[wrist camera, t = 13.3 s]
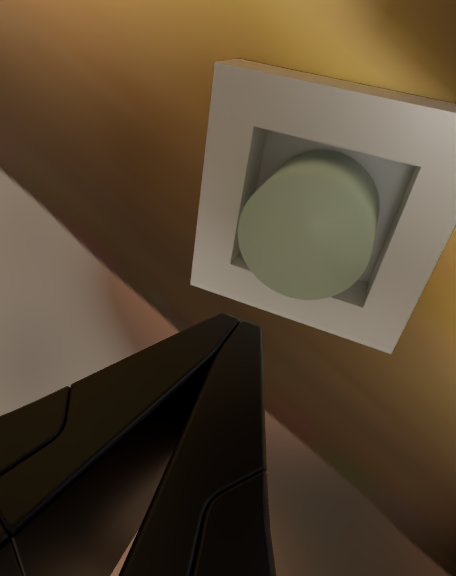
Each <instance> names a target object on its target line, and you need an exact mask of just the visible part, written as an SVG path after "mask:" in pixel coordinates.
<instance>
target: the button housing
mask: <svg viewBox="0 0 456 576" xmlns="http://www.w3.org/2000/svg"><path fill="white" fill-rule="evenodd" d="M315 150H329V151H335V152H338V153H342V154H344V155H346V156H349V157H351V158H352V159H354V160H355V161H357V162H358V163H359V164H361V165H362V166H363V167H364V168H365V169H366V170H367V172H368V173H369V174H370V176H371V177H372V179H373V181H374V183H375V185H376V187H377V191H378V194H379V200H380V211H379V217H378V222H377V227H376V232H375V237H374V242H373V247H372V252H371V256H370V259H369V262H368V265H367V267H366V269H365V271H364V272H363V274H362V275H361V276H360V278H359V279H358V280H357V281H356V282H355V283H354V284H353V285H352V286H350V287H349V288H348V289H346V290H345V291H343V292H341V293H339V294H337V295H335V296H332V297H329V298H325V299H319V300H300V299H294V298H290V297H287V296H284V295H282V294H279V293H277V292H275V291H273V290H271V289H270V288H268V287H267V286H266V285H264V284H263V283H262V282H261V281H259V280H258V279H257V277H256V276H255V275H254V274H253V273H252V272H251V270H250V269H249V268H248V266H247V264H246V263H245V261H244V259H243V256H242V254H241V251H240V247H239V242H238V224H239V219H240V215H241V213H242V210H243V208H244V206H245V205H246V203H247V201H248V200H249V199H250V197H251V196H252V195H253V194H254V193H255V192H256V191H257V190H258V189H259V188H260V187H261V186H262V185H263V184H264V183H265V182H266V181H267V180H268V179H269V178H270V177H271V176H272V175H273V174H274V173H275V172H276V171H277V170H278V169H279V168H280V167H281V166H282V165H283V164H284V163H286V162H287V161H288V160H290V159H291V158H293V157H295V156H297V155H299V154H302V153H305V152H309V151H315ZM455 226H456V103H451V102H446V101H441V100H436V99H431V98H427V97H422V96H417V95H412V94H407V93H402V92H398V91H393V90H388V89H383V88H378V87H373V86H369V85H364V84H359V83H354V82H349V81H344V80H340V79H335V78H330V77H325V76H320V75H315V74H311V73H306V72H301V71H296V70H291V69H286V68H282V67H277V66H272V65H267V64H262V63H257V62H253V61H248V60H243V59H231V60H225V61H218V62H215V65H214V74H213V83H212V92H211V101H210V111H209V120H208V129H207V138H206V147H205V156H204V165H203V174H202V183H201V192H200V201H199V210H198V219H197V228H196V238H195V247H194V256H193V265H192V274H191V283H190V285H193V286H196V287H199V288H202V289H205V290H207V291H210V292H213V293H216V294H219V295H222V296H225V297H228V298H230V299H233V300H236V301H239V302H242V303H245V304H248V305H251V306H253V307H256V308H259V309H262V310H265V311H268V312H271V313H274V314H277V315H279V316H282V317H285V318H288V319H291V320H294V321H297V322H300V323H302V324H305V325H308V326H311V327H314V328H317V329H320V330H323V331H326V332H328V333H331V334H334V335H337V336H340V337H343V338H346V339H349V340H351V341H354V342H357V343H360V344H363V345H366V346H369V347H372V348H375V349H377V350H380V351H383V352H386V353H389V354H392V352H393V350H394V348H395V346H396V344H397V342H398V340H399V338H400V336H401V334H402V332H403V330H404V328H405V326H406V324H407V322H408V320H409V318H410V316H411V314H412V312H413V310H414V308H415V306H416V304H417V302H418V300H419V298H420V296H421V294H422V292H423V290H424V288H425V286H426V284H427V282H428V280H429V278H430V276H431V274H432V272H433V270H434V268H435V266H436V264H437V262H438V260H439V258H440V256H441V254H442V252H443V250H444V248H445V246H446V244H447V242H448V240H449V238H450V236H451V234H452V232H453V230H454V228H455Z"/></svg>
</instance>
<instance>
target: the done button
mask: <svg viewBox="0 0 456 576" xmlns="http://www.w3.org/2000/svg"><path fill="white" fill-rule="evenodd" d="M379 211H380V200H379V194H378V191H377V187H376V185H375V183H374V181H373V179H372V177H371V176H370V174H369V173H368V172H367V170H366V169H365V168H364V167H363V166H362V165H361V164H359V163H358V162H357V161H355V160H354V159H352V158H351V157H349V156H346V155H344V154H342V153H338V152H335V151H329V150H315V151H309V152H305V153H302V154H299V155H297V156H295V157H293V158H291V159H290V160H288V161H287V162H286V163H284V164H283V165H282V166H281V167H280V168H279V169H278V170H277V171H276V172H275V173H274V174H273V175H272V176H271V177H270V178H269V179H268V180H267V181H266V182H265V183H264V184H263V185H262V186H261V187H260V188H259V189H258V190H257V191H256V192H255V193H254V194H253V195H252V196H251V197H250V199H249V200H248V201H247V203H246V205H245V206H244V208H243V210H242V213H241V215H240V219H239V224H238V242H239V247H240V251H241V254H242V256H243V259H244V261H245V263H246V264H247V266H248V268H249V269H250V270H251V272H252V273H253V274H254V275H255V276H256V277H257V279H258V280H259V281H261V282H262V283H263V284H264V285H266V286H267V287H268V288H270V289H271V290H273V291H275V292H277V293H279V294H282V295H284V296H287V297H290V298H294V299H300V300H319V299H325V298H329V297H332V296H335V295H337V294H339V293H341V292H343V291H345V290H346V289H348V288H349V287H350V286H352V285H353V284H354V283H355V282H356V281H357V280H358V279H359V278H360V276H361V275H362V274H363V272H364V271H365V269H366V267H367V265H368V262H369V259H370V256H371V252H372V247H373V242H374V237H375V232H376V227H377V222H378V217H379Z"/></svg>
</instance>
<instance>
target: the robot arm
mask: <svg viewBox="0 0 456 576" xmlns="http://www.w3.org/2000/svg"><path fill="white" fill-rule="evenodd" d="M266 470H267V466H266V438H265V410H264V382H263V354H262V329H261V327H260V326H259V325H256V324H254V323H251V322H248V321H245V320H243V321H241V322H240V319H239V318H237V317H234V316H231V315H228V314H225V313H219V314H217V315H215V316H212V317H210V318H208V319H206V320H204V321H202V322H200V323H198V324H196V325H194V326H192V327H190V328H187V329H185V330H183V331H181V332H179V333H177V334H175V335H173V336H171V337H169V338H167V339H165V340H162V341H160V342H158V343H156V344H154V345H152V346H150V347H148V348H146V349H144V350H142V351H140V352H137V353H135V354H133V355H131V356H129V357H127V358H125V359H123V360H121V361H119V362H117V363H114V364H113V365H110V366H109V367H106V368H104V369H102V370H100V371H98V372H96V373H94V374H92V375H90V376H88V377H85V378H83V379H81V380H79V381H77V382H75V383H73V384H71V387H68V386H66V387H64V388H62V389H60V390H58V391H56V392H54V393H52V394H49V395H47V396H45V397H43V398H41V399H39V400H36V401H34V402H32V403H30V404H27V405H25V406H23V407H21V408H19V409H16V410H14V411H12V412H9V413H7V414H4V415H2V416H0V576H110V575H111V573H112V572H113V570H114V568H115V567H116V565H117V564H118V562H119V560H120V559H121V557H122V555H123V554H124V552H125V550H126V549H127V547H128V545H129V544H130V542H131V541H132V539H133V537H134V536H135V534H136V533H137V535H136V537H135V539H134V541H133V544H132V546H131V548H130V551H129V553H128V555H127V557H126V560H125V562H124V564H123V567H122V569H121V571H120V573H119V576H276V570H275V563H274V556H273V548H272V540H271V533H270V519H269V507H268V506H269V505H268V487H267V474H266ZM138 529H139V530H138ZM137 531H138V532H137Z"/></svg>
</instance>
